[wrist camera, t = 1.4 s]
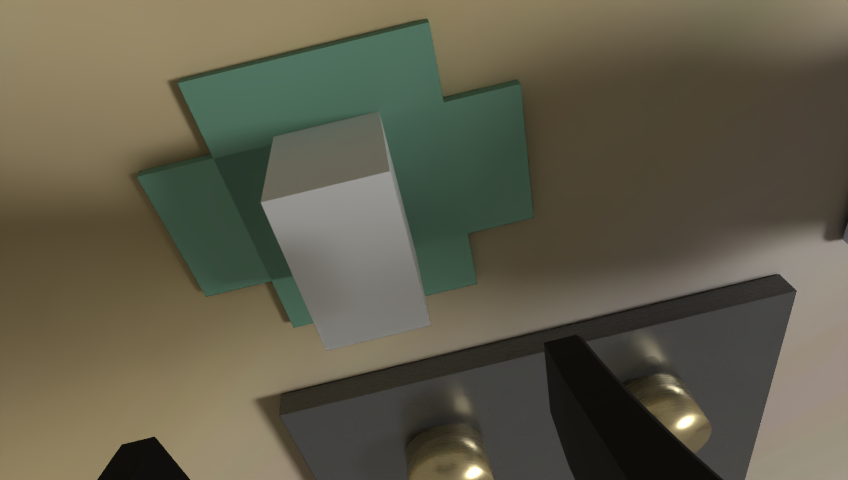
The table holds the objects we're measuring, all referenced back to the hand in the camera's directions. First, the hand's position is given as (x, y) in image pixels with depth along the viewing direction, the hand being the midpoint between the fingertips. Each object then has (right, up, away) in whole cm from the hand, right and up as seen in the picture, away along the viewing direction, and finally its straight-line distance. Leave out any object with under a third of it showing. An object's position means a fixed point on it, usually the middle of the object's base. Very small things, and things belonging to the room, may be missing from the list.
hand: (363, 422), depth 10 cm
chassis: (+7, -7, +16) cm, 19 cm away
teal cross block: (-1, +5, +7) cm, 9 cm away
